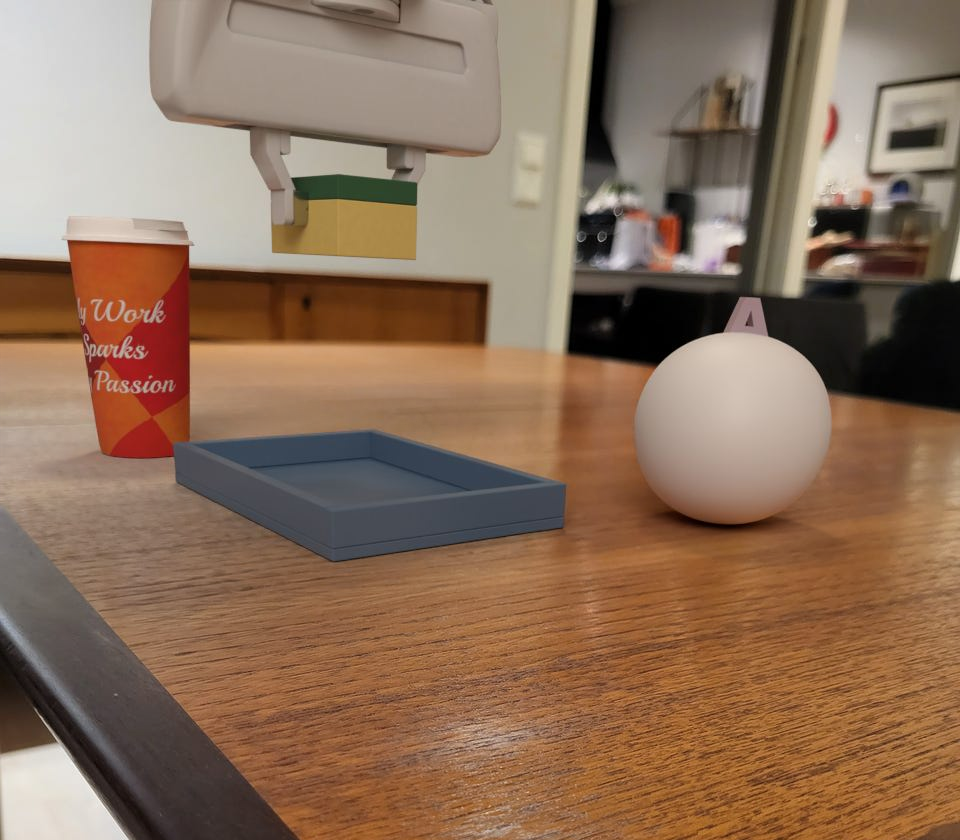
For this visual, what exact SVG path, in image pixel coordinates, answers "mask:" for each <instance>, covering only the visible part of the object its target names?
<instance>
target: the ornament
mask: <svg viewBox="0 0 960 840" xmlns="http://www.w3.org/2000/svg"><path fill="white" fill-rule="evenodd" d="M761 300H762V299H761V297H749V296H748V297H747V296H740V297H739V299H738V301H737V303H736V305H735V306H734V309H733V311H732V313H731V316H730V318H729V320H728V322H727V323H726V326H725V328H724V330H723V332H719V333H714V334H709V335H706V336H702V337H700V338H696V339H693V340H691V341H690V342H687V343H686V344H684V345H682V346H680V347H679V348H677V349H675V350H674V351H673V352H671V353H670V354H669V355H668V356H667V357H665V358H664V359H663V360H662V361H661V362H660V363H659V364H658V365H657V366H656V368H655V369H654V370H653V372H652V373H651V375H650V376H649V378H648V379H647V382H646V383H645V385H644V387H643V388H642V391H641V394H640V396H639V399H638V402H637V406H636V408H635V409H636V410H635V413H634V421H633V445H634V452H635V456H636V461H637V465H638V467H639V469H640V472H641V474H642V476H643V478H644V479H645V481H646V483H647V485H648V487H649V488H650V489H651V490H652V492H653V493H654V494H655V495H656V496H657V498H659V499H660V500H661V501H662V502H663V503H665V505H666V506H668V507H670V508H671V509H672V510H674V511H676V512H678V513H680V514H682V515H684V516H685V517H688V518H691V519H694V520H697V521H701V522H705V523H710V524H717V525H741V524H743V525H744V524H748V523H753V522H754V523H755V522H758V521H761V520H765V519H767V518H770V517H772V516H774V515H777V514H778V513H780V512H781V511H784V510H786V509H787V508H788V507H790V506H791V505H793V504H794V503H795V502H796V501H798V499H800V498H801V497H802V496H803V495H804V494H805V493H806V491H807V490H808V489H809V488H810V486H811V485H812V484H813V483H814V481H815V480H816V478H817V476H818V474H819V473H820V472H821V469H822V467H823V465H824V463H825V460H826V457H827V454H828V451H829V448H830V443H831V437H832V431H833V429H832V428H833V419H832V417H833V415H832V409H831V408H832V407H831V403H830V397H829V394H828V391H827V388H826V386H825V383H824V381H823V379H822V377H821V375H820V374H819V372H818V371H817V369H816V368H815V366H814V365H813V364H812V363H811V362H810V361H809V360H808V359H807V358H806V357H805V356H804V355H803V354H802V353H800V352H799V351H798V350H796V349H795V347H792V346H790V345H789V344H787V343H785V342H783V341H781V340H779V339H776V338H774V337H771V336H769V333H768V329H767V324H766V319H765V315H764V310H763V305H762V301H761ZM746 324H747V325H746Z"/></svg>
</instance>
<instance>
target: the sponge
mask: <svg viewBox="0 0 960 840" xmlns="http://www.w3.org/2000/svg"><path fill="white" fill-rule="evenodd" d="M291 180H292V182H293V184H294V186H295V189H296V190H295V191H303V192H308V198H309V206H308V208H307V211H308V212H309V221H308V224H307V226H306V227H299V226H283V225H274V223H273V222H272V216H271V215H270V220H271V221H270V227H271V232H270V233H271V253H273V254H285V255H286V254H287V255H303V256H305V255H306V256H307V255H308V256H325V257H345V258H346V257H347V258H368V259H384V260H385V259H387V260H406V261H407V260H409V261H416V260H417V236H418V235H417V229H418V206H417V205H418V185H417V183H416V182H409V181H400V180H391V179H390V178H381V177H370V176H363V175H362V176H361V175H350V174H343V173H336V174H335V173H333V174H319V175H306V176H295V177H294V176H293V177H291Z"/></svg>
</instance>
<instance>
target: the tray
mask: <svg viewBox="0 0 960 840" xmlns="http://www.w3.org/2000/svg"><path fill="white" fill-rule="evenodd" d="M173 447H174V456H173V459H174V471H175V472H174V475H175V476H174V477H175V482H176V483H178V484H179V485H182V486H184V487H186V488H187V489H190V490H192V491H193V492H195V493H197V494H199V495H201V496H204V497H205V498H206V499H209V500H211V501H213V502H214V503H217V504H219V505H221V506H223V507H225V508H227V509H228V510H231V511H233V512H234V513H237V514H239V515H240V516H243V517H244V518H246V519H249V520H250V521H253V522H254V523H256V524H258V525H260V526H262V527H264V528H266V529H268V530H270V531H272V532H274V533H275V534H278V535H280V536H282V537H284V538H286V539H287V540H290V541H292V542H293V543H296V544H297V545H300V546H301V547H304V548H305V549H307V550H309V551H311V552H314V553H315V554H317V555H319V556H321V557H323V558H325V559H327V560H329V561H331V562H340V561H347V560H353V559H361V558H368V557H373V556H374V557H375V556H381V555H387V554H393V553H400V552H408V551H413V550H414V551H415V550H422V549H428V548H435V547H440V546H447V545H448V546H449V545H453V544H462V543H469V542H474V541H482V540H487V539H494V538H500V537H501V538H502V537H507V536H516V535H522V534H528V533H535V532H541V531H550V530H557V529H562V528H564V526H565V525H564V524H565V511H566V510H565V509H566V495H567V483H565V482H561V481H559V480H555V479H551V478H548V477H544V476H540V475H537V474H533V473H529V472H527V471H523V470H519V469H516V468H512V467H510V466H509V467H508V466H505V465H502V464H499V463H495V462H490V461H487V460H484V459H481V458H477V457H473V456H470V455H466V454H464V453H460V452H455V451H453V450H449V449H447V448H446V449H445V448H442V447H439V446H434V445H431V444H428V443H424V442H421V441H417V440H413V439H410V438H407V437H404V436H399V435H396V434H392V433H389V432H385V431H382V430H379V429H375V428H371V429H369V428H368V429H356V430H341V431H340V430H339V431H326V432H325V431H324V432H311V433H293V434H280V435H264V436H250V437H248V436H247V437H233V438H220V439H205V440H190V441H188V442H175V443H173Z"/></svg>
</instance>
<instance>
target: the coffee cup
mask: <svg viewBox="0 0 960 840" xmlns="http://www.w3.org/2000/svg"><path fill="white" fill-rule="evenodd" d="M188 232H189V231H188V230H186V227H185V225H184V221H178V220H168V219H166V220H165V219H154V218H153V219H151V218H135V217H115V216H113V217H111V216H109V217H108V216H86V215H84V216H82V215H81V216H80V215H79V216H78V215H71V216H70V215H69V216H68V217H67V219H66V234H64V235H62V236H61V241H67V242H66V243H67V248H68V255H69V263H70V268H71V275H72V281H73V287H74V294H75V301H76V307H77V314H78V320H79V327H80V334H81V341H82V346H83V353H84V360H85V366H86V372H87V379H88V385H89V391H90V398H91V403H92V410H93V414H94V422H95V423H94V424H95V428H96V434H97V439H98V444H99V449H100V452H101V453H102V454H104V455H107V456H112V457H116V458H117V457H118V458H132V459H148V458H150V459H151V458H165V457H174V447H173V443H175V442H188V441H191V440H190V438H191V437H190V435H191V316H190V315H191V312H190V311H191V310H190V309H191V307H190V293H191V292H190V247H194V246H195V244H194V242H193V241H192V240H190V238H189V233H188Z"/></svg>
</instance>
